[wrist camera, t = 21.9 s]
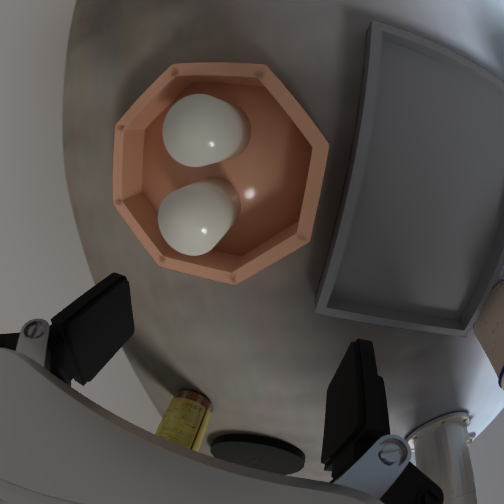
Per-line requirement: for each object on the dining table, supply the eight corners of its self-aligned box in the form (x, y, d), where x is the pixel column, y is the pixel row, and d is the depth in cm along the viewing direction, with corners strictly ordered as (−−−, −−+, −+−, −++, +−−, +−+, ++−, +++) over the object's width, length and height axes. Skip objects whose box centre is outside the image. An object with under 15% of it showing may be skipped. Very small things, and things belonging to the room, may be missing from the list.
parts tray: (519, 106, 12) (534, 106, 10) (457, 323, 22) (465, 337, 20) (366, 31, 14) (372, 19, 12) (315, 297, 24) (314, 313, 22)
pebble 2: (244, 181, 20) (224, 194, 16) (237, 236, 22) (218, 262, 18) (189, 173, 21) (158, 184, 17) (186, 226, 23) (158, 248, 19)
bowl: (334, 87, 17) (339, 76, 13) (298, 274, 24) (295, 298, 20) (148, 76, 19) (122, 70, 16) (139, 238, 26) (116, 254, 22)
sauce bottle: (168, 388, 36) (110, 492, 18) (199, 386, 34) (141, 506, 16) (192, 413, 38) (147, 511, 20) (223, 412, 35) (180, 523, 18)
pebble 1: (254, 105, 18) (237, 95, 13) (246, 163, 20) (227, 171, 15) (197, 101, 19) (166, 94, 14) (191, 156, 20) (159, 163, 16)
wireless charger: (295, 432, 35) (293, 442, 33) (311, 467, 41) (310, 475, 39) (198, 428, 41) (194, 437, 39) (233, 465, 46) (230, 472, 44)
